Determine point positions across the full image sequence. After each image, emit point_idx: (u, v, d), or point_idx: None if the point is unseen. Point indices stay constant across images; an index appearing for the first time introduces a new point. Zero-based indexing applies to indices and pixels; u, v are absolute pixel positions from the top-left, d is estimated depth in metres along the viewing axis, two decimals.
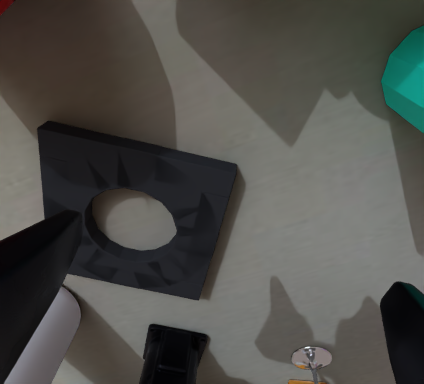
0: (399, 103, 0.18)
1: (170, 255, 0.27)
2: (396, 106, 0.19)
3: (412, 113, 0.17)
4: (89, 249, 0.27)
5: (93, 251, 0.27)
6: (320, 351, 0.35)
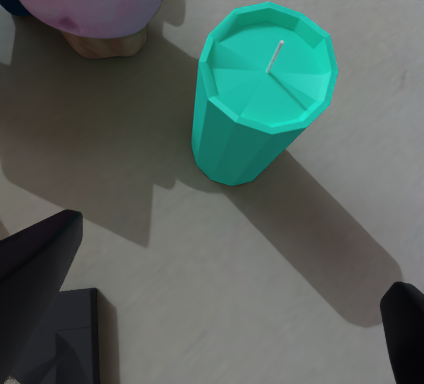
0: (205, 162, 0.21)
1: None
2: (209, 169, 0.21)
3: (208, 156, 0.19)
4: None
5: None
6: None
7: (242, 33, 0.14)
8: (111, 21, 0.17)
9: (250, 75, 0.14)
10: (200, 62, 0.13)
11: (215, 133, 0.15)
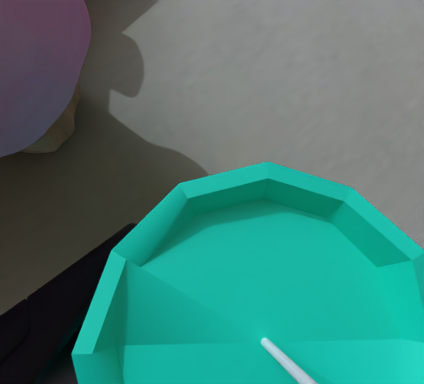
0: None
1: None
2: None
3: None
4: None
5: None
6: None
7: (201, 236, 0.06)
8: None
9: (219, 359, 0.05)
10: (76, 356, 0.05)
11: None
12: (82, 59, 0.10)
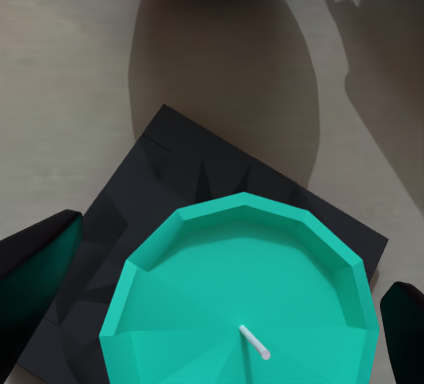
0: None
1: None
2: None
3: None
4: None
5: None
6: None
7: (194, 248, 0.07)
8: None
9: (207, 341, 0.07)
10: (102, 337, 0.06)
11: None
12: None
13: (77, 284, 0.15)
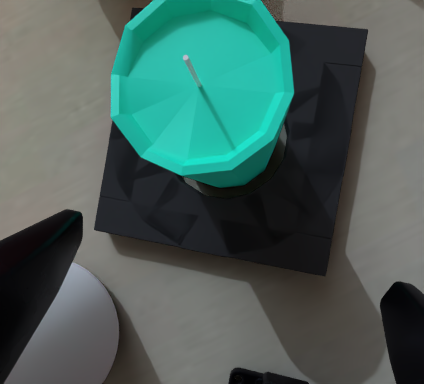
0: None
1: (279, 179, 0.18)
2: None
3: None
4: (160, 181, 0.19)
5: (165, 184, 0.19)
6: None
7: (150, 49, 0.11)
8: None
9: (180, 101, 0.10)
10: (113, 117, 0.10)
11: None
12: None
13: (129, 169, 0.19)
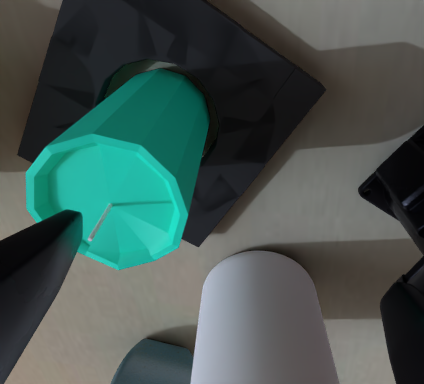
0: None
1: (217, 93, 0.18)
2: None
3: None
4: None
5: None
6: None
7: None
8: None
9: (119, 221, 0.12)
10: (119, 268, 0.13)
11: None
12: None
13: None
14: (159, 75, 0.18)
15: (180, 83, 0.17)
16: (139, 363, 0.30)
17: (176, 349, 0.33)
